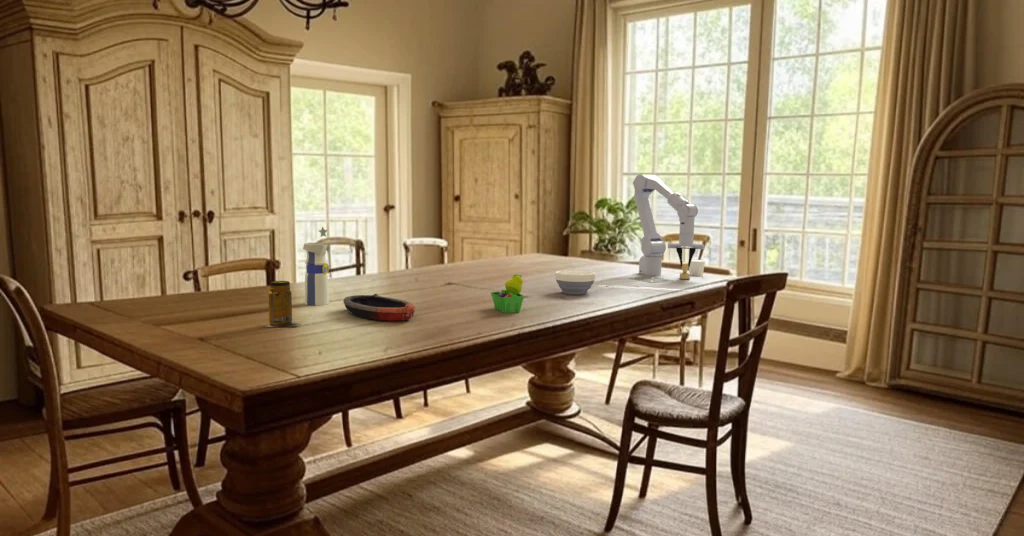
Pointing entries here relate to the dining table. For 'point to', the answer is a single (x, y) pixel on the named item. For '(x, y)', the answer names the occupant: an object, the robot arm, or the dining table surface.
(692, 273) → the beige cylinder
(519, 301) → the fruit basket
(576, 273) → the bowl
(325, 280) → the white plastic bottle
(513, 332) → the dining table surface
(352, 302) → the dish
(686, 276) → the t key
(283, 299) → the condiment
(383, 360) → the dining table surface
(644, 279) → the cover plate
